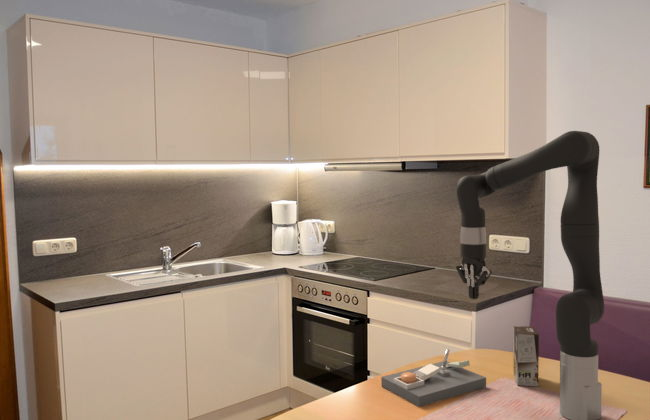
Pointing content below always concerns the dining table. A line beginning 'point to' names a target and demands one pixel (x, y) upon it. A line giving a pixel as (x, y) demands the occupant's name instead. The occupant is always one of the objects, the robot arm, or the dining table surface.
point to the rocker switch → (427, 371)
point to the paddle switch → (459, 364)
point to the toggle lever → (445, 360)
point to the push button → (408, 377)
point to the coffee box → (526, 355)
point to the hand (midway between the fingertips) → (473, 298)
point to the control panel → (434, 385)
